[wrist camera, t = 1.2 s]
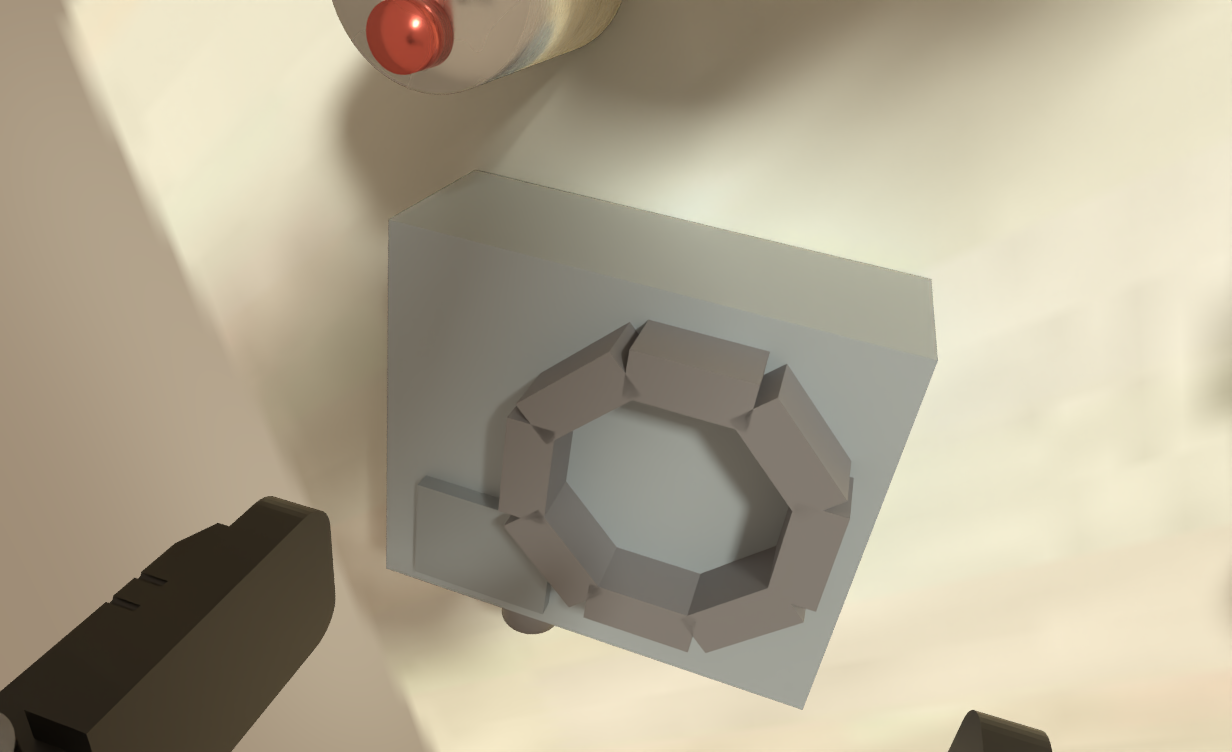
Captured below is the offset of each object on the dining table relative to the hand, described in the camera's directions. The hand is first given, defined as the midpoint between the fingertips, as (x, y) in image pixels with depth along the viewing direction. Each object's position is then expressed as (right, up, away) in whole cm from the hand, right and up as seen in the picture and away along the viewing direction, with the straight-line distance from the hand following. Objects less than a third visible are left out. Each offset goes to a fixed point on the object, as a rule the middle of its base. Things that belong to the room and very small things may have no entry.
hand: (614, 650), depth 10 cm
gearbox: (+1, +1, +23) cm, 23 cm away
